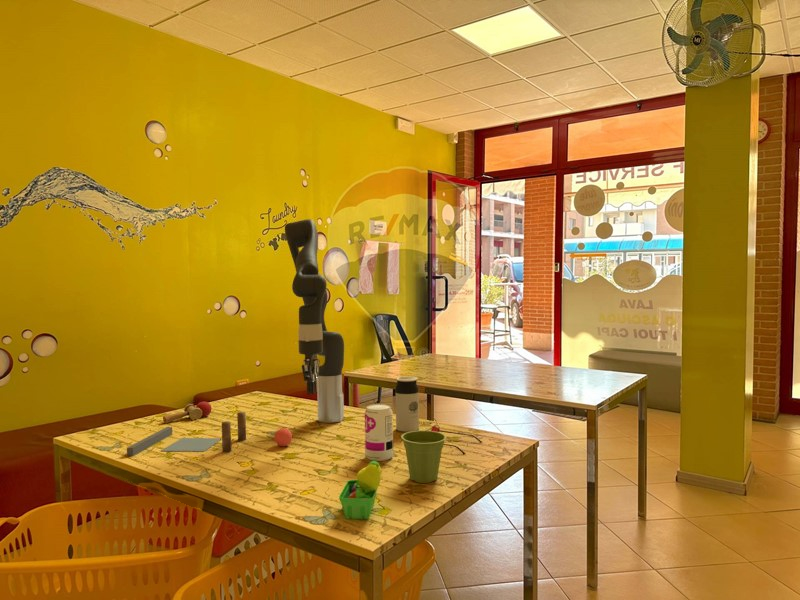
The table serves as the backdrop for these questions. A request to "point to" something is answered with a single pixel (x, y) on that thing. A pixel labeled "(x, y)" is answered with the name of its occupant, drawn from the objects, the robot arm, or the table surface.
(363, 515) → the fruit basket
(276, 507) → the table surface
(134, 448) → the wall
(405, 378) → the travel mug
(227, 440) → the gate post
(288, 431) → the ball
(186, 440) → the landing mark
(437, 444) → the plant pot
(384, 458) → the supplement can
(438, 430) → the glasses
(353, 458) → the table surface
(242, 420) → the gate post
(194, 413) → the kendama
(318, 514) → the table surface
